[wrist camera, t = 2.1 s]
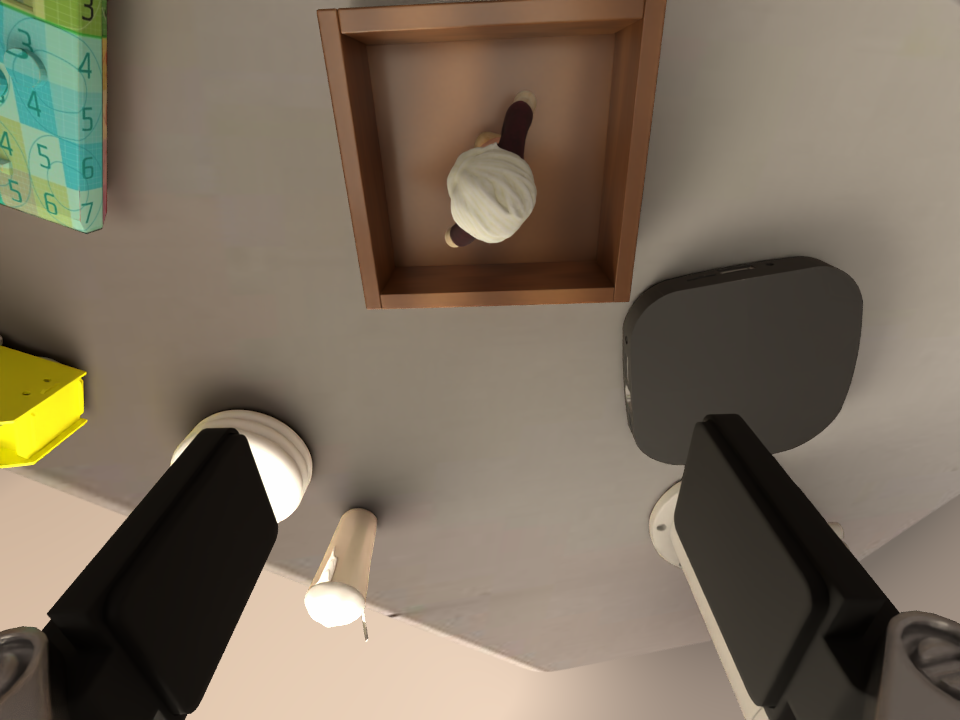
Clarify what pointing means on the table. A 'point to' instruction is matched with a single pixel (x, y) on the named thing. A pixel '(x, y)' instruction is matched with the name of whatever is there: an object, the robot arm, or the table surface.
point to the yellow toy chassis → (36, 406)
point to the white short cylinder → (267, 455)
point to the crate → (482, 108)
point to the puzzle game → (54, 110)
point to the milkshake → (344, 572)
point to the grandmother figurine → (493, 181)
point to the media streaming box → (741, 353)
